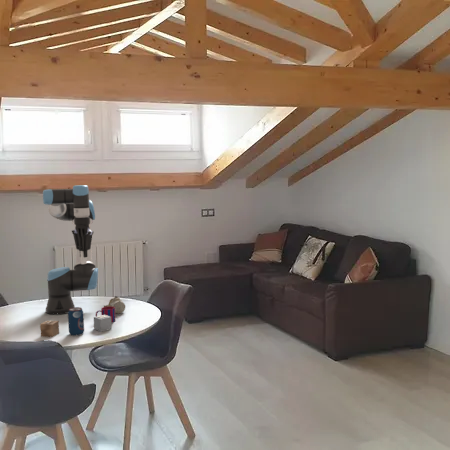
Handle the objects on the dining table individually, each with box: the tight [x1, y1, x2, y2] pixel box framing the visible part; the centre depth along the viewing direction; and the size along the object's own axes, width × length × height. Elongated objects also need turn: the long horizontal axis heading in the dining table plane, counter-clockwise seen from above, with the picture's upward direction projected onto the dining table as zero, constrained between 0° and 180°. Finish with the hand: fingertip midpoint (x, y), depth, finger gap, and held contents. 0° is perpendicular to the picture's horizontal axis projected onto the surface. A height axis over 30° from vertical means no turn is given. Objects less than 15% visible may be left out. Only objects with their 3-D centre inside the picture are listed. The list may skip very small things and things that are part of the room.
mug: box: [95, 306, 116, 324], centre depth 284 cm, size 7×10×7 cm
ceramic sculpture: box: [103, 295, 126, 315], centre depth 304 cm, size 11×9×15 cm
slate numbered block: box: [93, 314, 113, 333], centre depth 272 cm, size 6×6×6 cm
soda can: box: [67, 306, 85, 337], centre depth 264 cm, size 7×7×12 cm
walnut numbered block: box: [39, 320, 60, 338], centre depth 264 cm, size 6×6×6 cm
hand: (84, 263), depth 283 cm, fingers closed
